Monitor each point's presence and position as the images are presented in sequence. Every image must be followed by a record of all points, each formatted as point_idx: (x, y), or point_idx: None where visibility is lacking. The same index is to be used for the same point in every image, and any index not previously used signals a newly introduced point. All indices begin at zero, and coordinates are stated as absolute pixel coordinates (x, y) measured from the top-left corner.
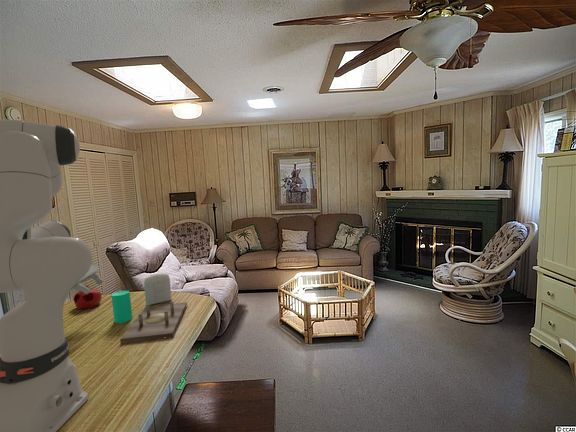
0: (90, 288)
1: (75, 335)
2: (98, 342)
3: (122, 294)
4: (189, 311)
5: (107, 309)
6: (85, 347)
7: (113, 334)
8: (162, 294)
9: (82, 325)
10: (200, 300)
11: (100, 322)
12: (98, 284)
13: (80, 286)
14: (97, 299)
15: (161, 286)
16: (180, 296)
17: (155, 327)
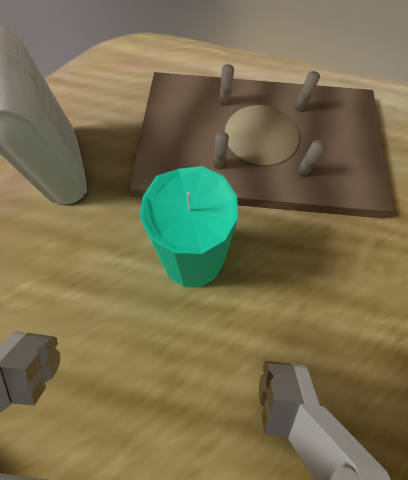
0: (268, 368)
1: None
2: (366, 291)
3: (198, 199)
4: None
5: None
6: (396, 324)
7: (314, 258)
8: (66, 126)
9: (190, 425)
10: (126, 53)
11: (186, 346)
12: (52, 373)
13: (371, 463)
14: None
15: (48, 96)
16: None
17: (330, 131)
